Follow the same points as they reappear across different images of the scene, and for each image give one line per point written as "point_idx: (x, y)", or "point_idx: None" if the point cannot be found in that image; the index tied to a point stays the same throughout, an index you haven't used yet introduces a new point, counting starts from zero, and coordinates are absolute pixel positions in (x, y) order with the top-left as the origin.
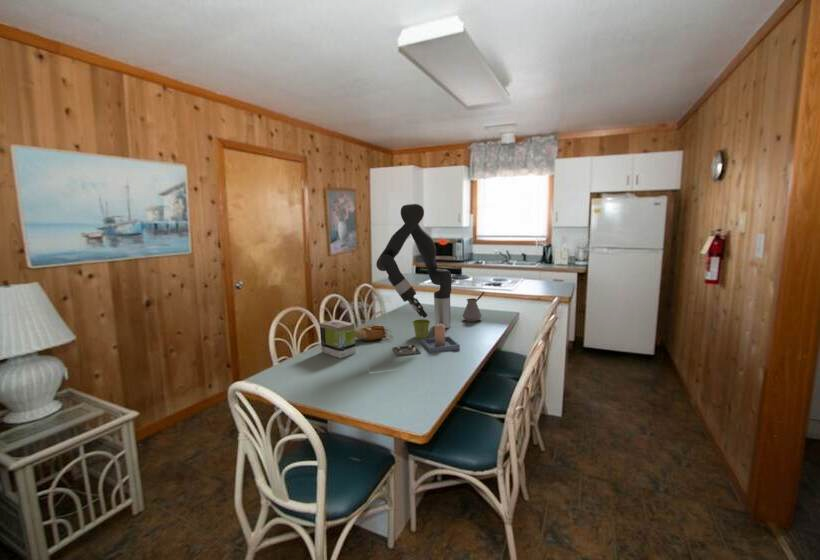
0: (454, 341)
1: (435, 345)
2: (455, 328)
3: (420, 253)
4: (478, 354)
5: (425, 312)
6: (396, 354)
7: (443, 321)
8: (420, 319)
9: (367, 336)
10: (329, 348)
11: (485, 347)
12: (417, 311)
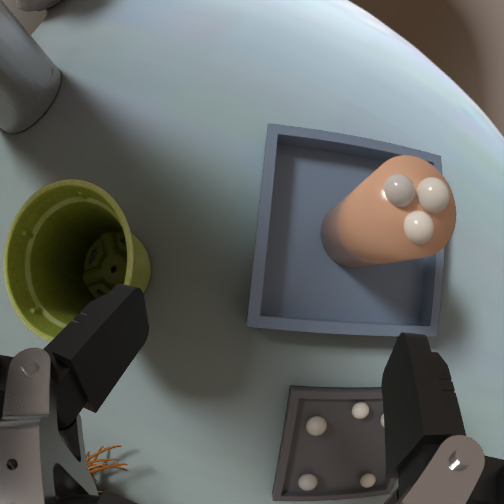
0: (382, 148)
1: (356, 267)
2: (88, 51)
3: None
4: (485, 134)
5: (437, 376)
6: (370, 493)
7: (35, 80)
8: (10, 240)
9: None
10: None
11: (418, 61)
12: (102, 396)
